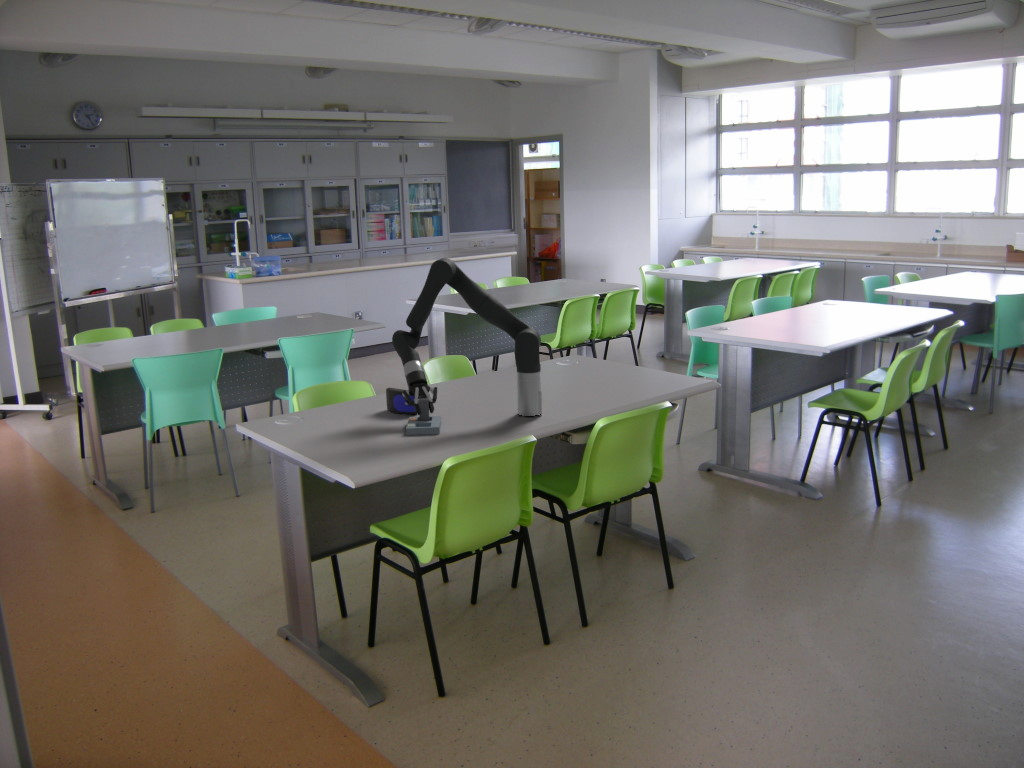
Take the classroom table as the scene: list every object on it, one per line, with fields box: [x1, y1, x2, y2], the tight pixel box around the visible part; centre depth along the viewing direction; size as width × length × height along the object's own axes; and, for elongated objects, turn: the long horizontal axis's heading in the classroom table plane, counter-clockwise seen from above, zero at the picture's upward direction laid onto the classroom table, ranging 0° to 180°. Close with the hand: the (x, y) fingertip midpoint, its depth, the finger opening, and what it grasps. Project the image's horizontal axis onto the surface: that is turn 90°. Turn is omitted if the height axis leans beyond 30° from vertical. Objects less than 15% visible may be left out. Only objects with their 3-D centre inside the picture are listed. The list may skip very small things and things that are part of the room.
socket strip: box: [405, 415, 442, 436], centre depth 311 cm, size 12×16×3 cm
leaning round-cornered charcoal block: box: [385, 387, 419, 416], centre depth 333 cm, size 16×5×9 cm, turn 56°
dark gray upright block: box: [418, 398, 431, 421], centre depth 314 cm, size 4×4×9 cm
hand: (425, 412), depth 312 cm, fingers closed on dark gray upright block, 4 cm apart
